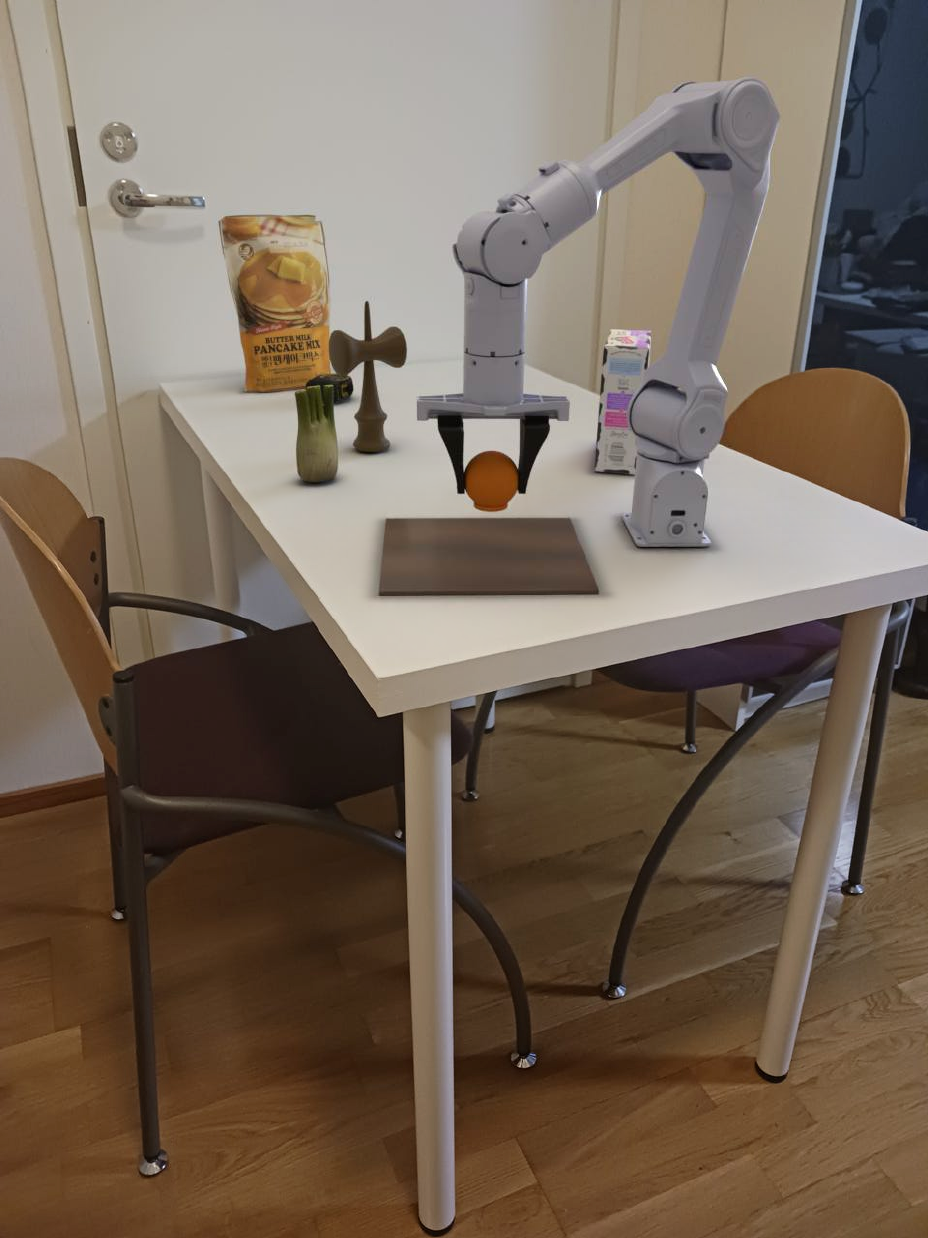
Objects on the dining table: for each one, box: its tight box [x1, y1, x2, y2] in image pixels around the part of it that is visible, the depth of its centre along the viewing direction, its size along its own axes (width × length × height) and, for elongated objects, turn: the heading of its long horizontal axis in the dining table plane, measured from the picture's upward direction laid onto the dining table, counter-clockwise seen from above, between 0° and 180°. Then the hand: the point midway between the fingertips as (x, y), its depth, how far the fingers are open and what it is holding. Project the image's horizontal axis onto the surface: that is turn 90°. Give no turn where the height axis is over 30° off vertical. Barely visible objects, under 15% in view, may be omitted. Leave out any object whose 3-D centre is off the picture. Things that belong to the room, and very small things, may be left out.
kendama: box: [329, 300, 408, 453], centre depth 131 cm, size 6×10×20 cm, turn 123°
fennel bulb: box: [294, 385, 339, 484], centre depth 120 cm, size 6×5×12 cm
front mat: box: [378, 517, 600, 596], centre depth 101 cm, size 20×21×1 cm
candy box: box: [594, 328, 652, 476], centre depth 129 cm, size 14×6×16 cm, turn 168°
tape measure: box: [305, 373, 354, 402], centre depth 161 cm, size 7×7×4 cm
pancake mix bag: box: [217, 214, 332, 393], centre depth 164 cm, size 7×19×28 cm, turn 120°
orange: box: [464, 450, 519, 513], centre depth 95 cm, size 6×6×6 cm
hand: (490, 490), depth 96 cm, fingers closed on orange, 5 cm apart
